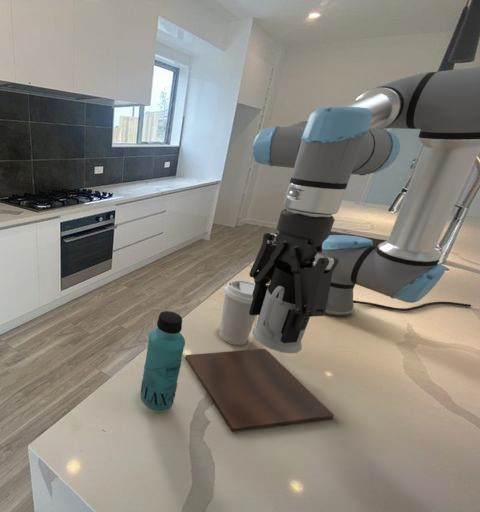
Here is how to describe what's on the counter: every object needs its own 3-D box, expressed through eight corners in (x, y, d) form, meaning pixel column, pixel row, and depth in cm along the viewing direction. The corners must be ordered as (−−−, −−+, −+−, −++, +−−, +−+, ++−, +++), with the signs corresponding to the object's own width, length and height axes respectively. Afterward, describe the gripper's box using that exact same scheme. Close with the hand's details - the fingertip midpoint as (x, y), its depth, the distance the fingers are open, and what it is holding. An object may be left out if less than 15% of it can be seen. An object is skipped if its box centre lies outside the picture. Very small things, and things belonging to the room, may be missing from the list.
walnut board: (264, 351, 74) (265, 348, 73) (332, 419, 56) (334, 415, 56) (185, 358, 70) (185, 355, 70) (232, 432, 53) (233, 428, 52)
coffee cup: (220, 322, 85) (231, 274, 79) (256, 336, 79) (271, 286, 74) (208, 337, 78) (220, 286, 72) (247, 354, 72) (263, 301, 67)
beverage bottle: (131, 403, 57) (142, 315, 50) (152, 385, 62) (164, 301, 54) (160, 425, 53) (176, 333, 46) (179, 404, 58) (197, 317, 50)
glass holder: (308, 342, 59) (334, 273, 53) (279, 372, 50) (307, 294, 45) (263, 321, 65) (282, 257, 60) (230, 345, 57) (249, 273, 51)
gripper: (247, 198, 58) (222, 299, 67) (349, 230, 39) (296, 367, 47) (281, 199, 59) (252, 298, 68) (395, 230, 40) (336, 363, 49)
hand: (270, 326), depth 58 cm, fingers closed on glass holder, 8 cm apart
